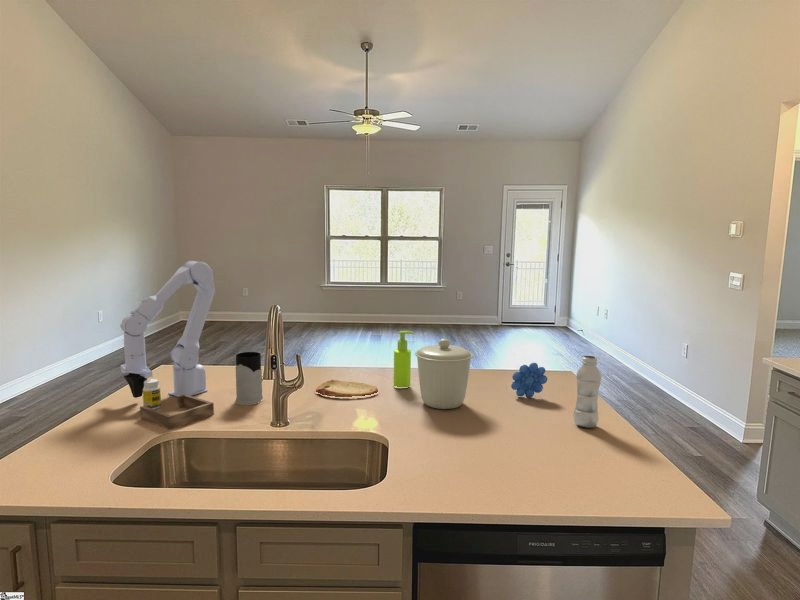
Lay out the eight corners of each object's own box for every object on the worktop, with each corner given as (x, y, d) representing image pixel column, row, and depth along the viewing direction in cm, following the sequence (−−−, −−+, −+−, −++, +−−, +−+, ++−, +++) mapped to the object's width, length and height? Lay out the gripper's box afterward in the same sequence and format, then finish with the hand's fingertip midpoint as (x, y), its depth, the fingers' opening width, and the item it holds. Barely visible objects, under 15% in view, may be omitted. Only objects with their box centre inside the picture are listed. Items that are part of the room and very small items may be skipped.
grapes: (543, 394, 167) (545, 359, 166) (547, 400, 161) (549, 365, 159) (509, 392, 169) (510, 358, 167) (511, 399, 162) (513, 363, 160)
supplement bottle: (153, 411, 147) (152, 383, 146) (140, 409, 148) (138, 382, 147) (164, 405, 152) (163, 379, 151) (151, 404, 153) (149, 378, 151)
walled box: (185, 405, 152) (184, 394, 152) (213, 414, 145) (213, 402, 144) (140, 418, 141) (140, 406, 140) (169, 429, 133) (168, 417, 133)
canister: (443, 418, 144) (445, 348, 141) (402, 402, 157) (403, 337, 154) (483, 405, 156) (485, 340, 153) (441, 391, 169) (443, 331, 166)
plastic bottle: (579, 419, 144) (583, 353, 142) (602, 426, 139) (606, 357, 137) (568, 425, 140) (572, 356, 137) (592, 432, 135) (596, 361, 132)
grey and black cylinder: (229, 402, 155) (227, 356, 153) (257, 390, 168) (256, 347, 166) (252, 406, 152) (251, 359, 150) (279, 393, 165) (278, 349, 163)
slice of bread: (383, 395, 165) (383, 384, 165) (338, 406, 154) (338, 394, 154) (353, 383, 179) (353, 373, 179) (309, 392, 168) (309, 381, 167)
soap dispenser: (413, 389, 171) (414, 332, 168) (393, 389, 171) (394, 332, 168) (413, 384, 177) (413, 329, 174) (393, 384, 177) (394, 329, 174)
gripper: (109, 353, 153) (112, 395, 154) (135, 360, 145) (137, 404, 147) (132, 349, 159) (134, 389, 160) (158, 355, 151) (160, 398, 152)
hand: (137, 396), depth 154 cm, fingers closed
